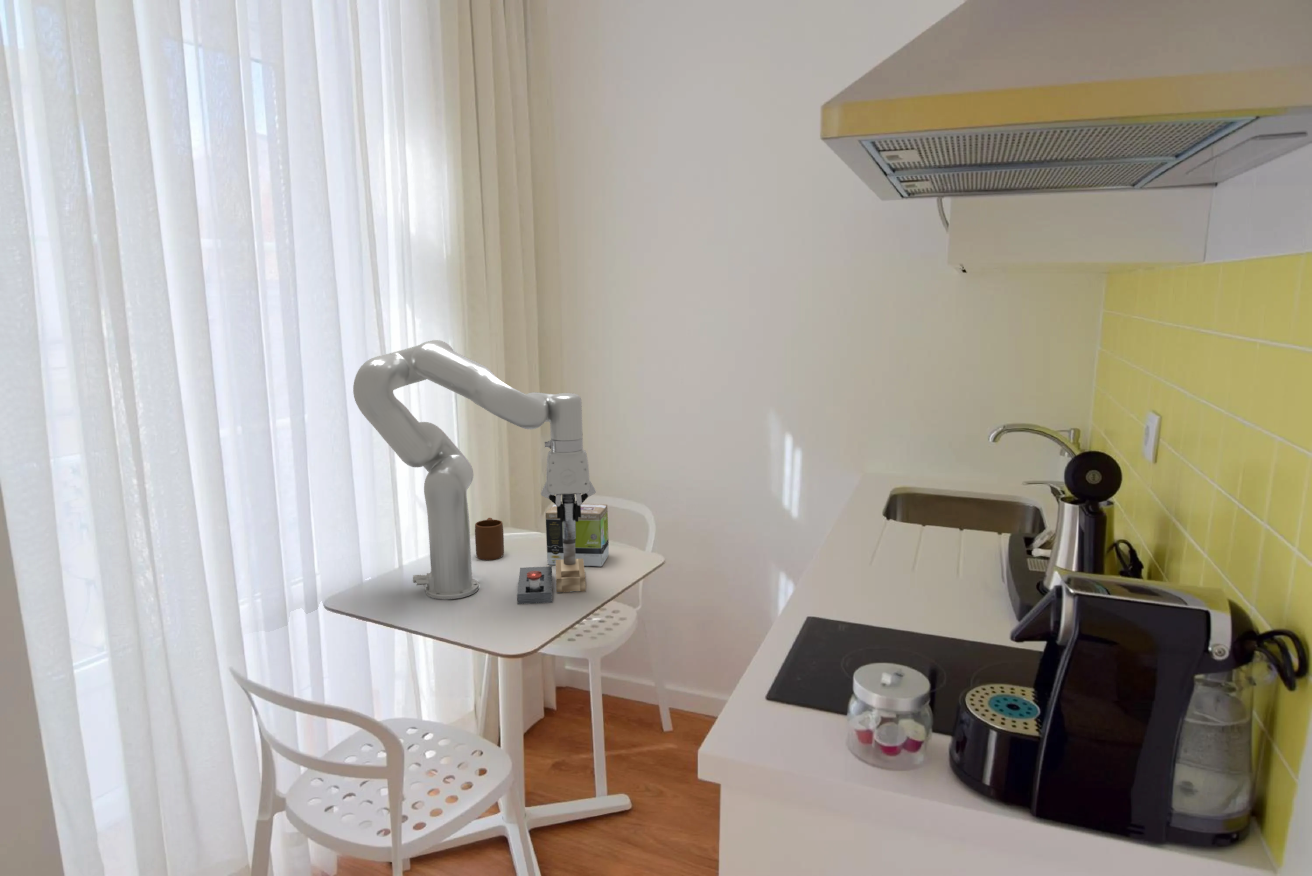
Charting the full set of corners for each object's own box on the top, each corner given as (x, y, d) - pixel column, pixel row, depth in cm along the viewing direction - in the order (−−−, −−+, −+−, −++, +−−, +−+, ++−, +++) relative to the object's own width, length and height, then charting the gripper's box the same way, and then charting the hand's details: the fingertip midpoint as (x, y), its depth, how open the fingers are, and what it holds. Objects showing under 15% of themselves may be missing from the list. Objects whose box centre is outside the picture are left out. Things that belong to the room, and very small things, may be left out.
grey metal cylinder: (563, 540, 188) (561, 495, 186) (563, 536, 191) (561, 492, 189) (576, 539, 189) (575, 495, 187) (575, 535, 192) (574, 492, 190)
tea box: (609, 555, 216) (608, 503, 213) (601, 568, 206) (600, 513, 204) (556, 553, 218) (554, 501, 215) (546, 565, 208) (544, 511, 206)
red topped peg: (527, 597, 183) (526, 576, 182) (527, 592, 186) (527, 571, 185) (542, 597, 183) (541, 575, 182) (542, 591, 187) (541, 570, 186)
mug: (477, 547, 223) (476, 515, 221) (504, 546, 224) (503, 514, 223) (475, 561, 211) (473, 527, 210) (504, 559, 213) (502, 526, 211)
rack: (556, 592, 189) (555, 549, 187) (556, 572, 203) (555, 531, 201) (585, 591, 190) (584, 547, 188) (583, 571, 203) (582, 530, 202)
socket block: (517, 604, 182) (517, 594, 182) (520, 577, 200) (520, 567, 199) (552, 602, 183) (551, 592, 183) (552, 575, 201) (552, 566, 200)
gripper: (531, 450, 181) (534, 526, 185) (602, 447, 183) (604, 523, 187) (532, 444, 189) (535, 517, 192) (600, 441, 191) (602, 514, 194)
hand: (569, 519), depth 189 cm, fingers closed on grey metal cylinder, 3 cm apart
